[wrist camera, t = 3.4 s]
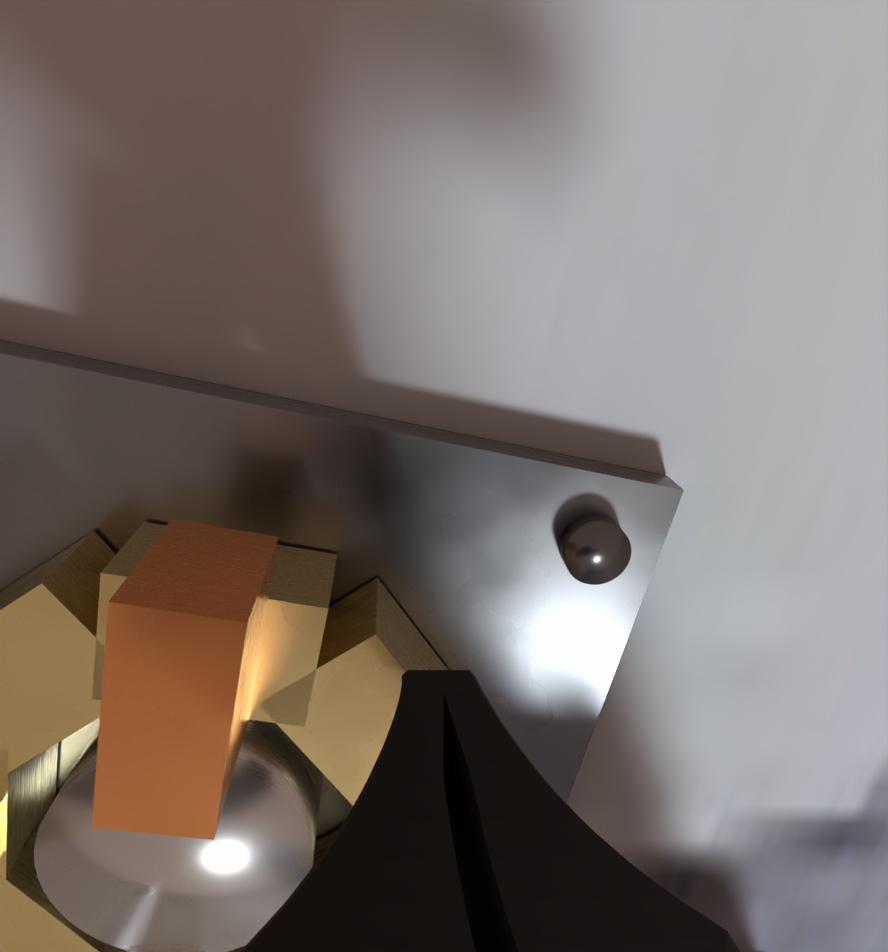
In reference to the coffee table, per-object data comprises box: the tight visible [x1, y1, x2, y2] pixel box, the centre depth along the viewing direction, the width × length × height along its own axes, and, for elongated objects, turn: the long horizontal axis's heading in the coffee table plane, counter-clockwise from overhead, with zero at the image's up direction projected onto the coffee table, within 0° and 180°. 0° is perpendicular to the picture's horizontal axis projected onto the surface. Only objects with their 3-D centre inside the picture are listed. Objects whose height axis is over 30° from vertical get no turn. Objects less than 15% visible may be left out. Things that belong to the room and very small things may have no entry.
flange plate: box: [0, 340, 683, 952], centre depth 16 cm, size 20×20×4 cm
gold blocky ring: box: [0, 519, 448, 952], centre depth 15 cm, size 14×15×5 cm
